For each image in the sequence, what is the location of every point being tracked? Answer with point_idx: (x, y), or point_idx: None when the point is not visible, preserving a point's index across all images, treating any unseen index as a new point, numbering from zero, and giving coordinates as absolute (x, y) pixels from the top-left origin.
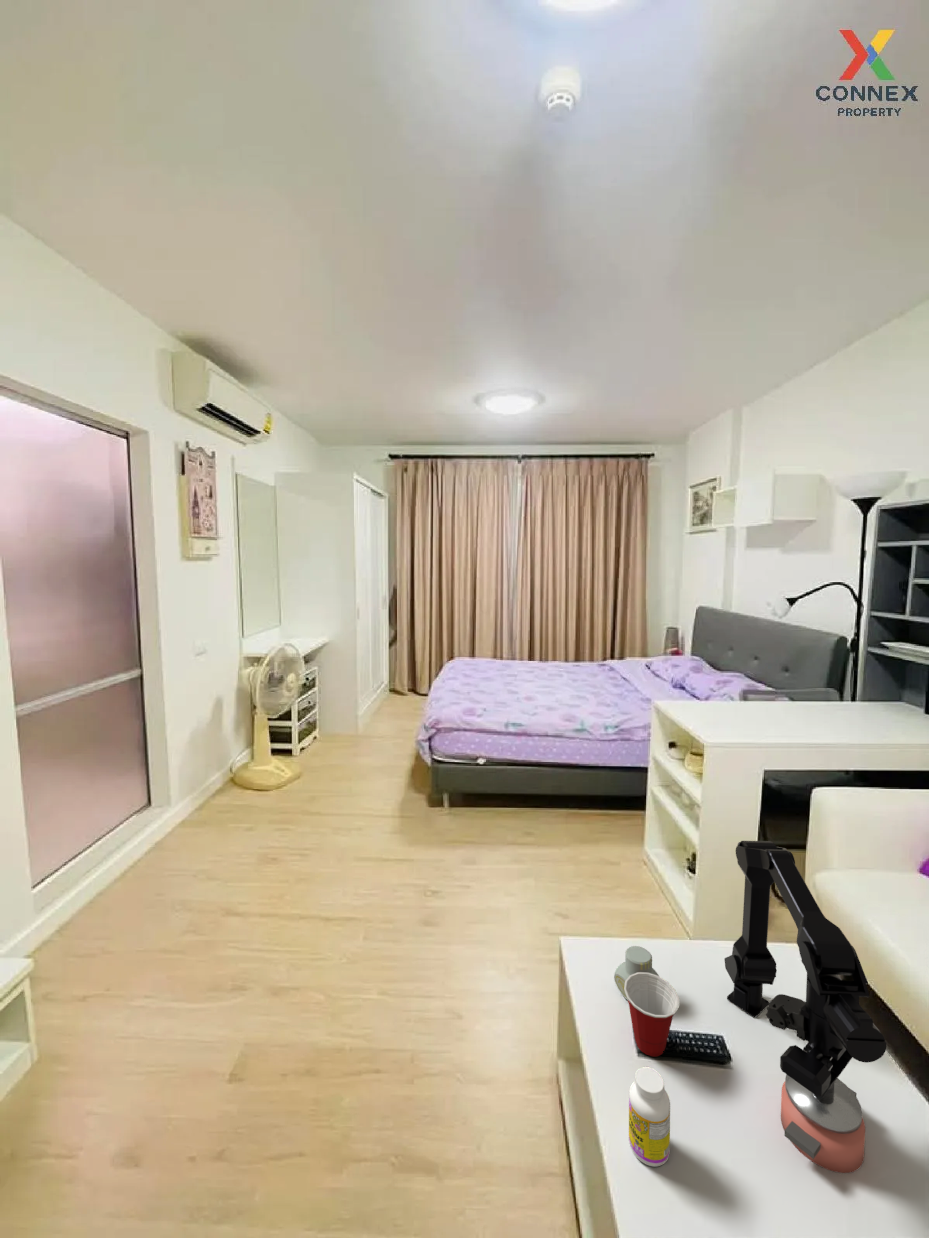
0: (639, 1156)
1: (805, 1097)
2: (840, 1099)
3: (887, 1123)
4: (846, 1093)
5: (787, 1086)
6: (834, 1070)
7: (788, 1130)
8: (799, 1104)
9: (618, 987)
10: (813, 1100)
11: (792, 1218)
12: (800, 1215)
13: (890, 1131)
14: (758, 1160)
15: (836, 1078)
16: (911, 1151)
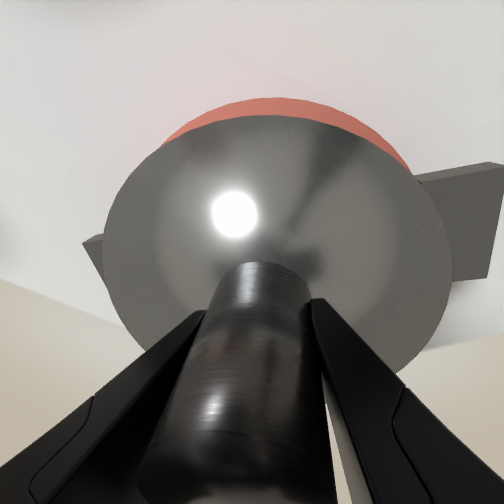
0: None
1: (169, 275)
2: None
3: (481, 285)
4: (379, 346)
5: (123, 198)
6: (349, 484)
7: (94, 248)
8: (113, 283)
9: None
10: (196, 297)
11: (66, 293)
12: (84, 296)
13: (457, 298)
14: (58, 195)
15: (334, 432)
16: (434, 337)
